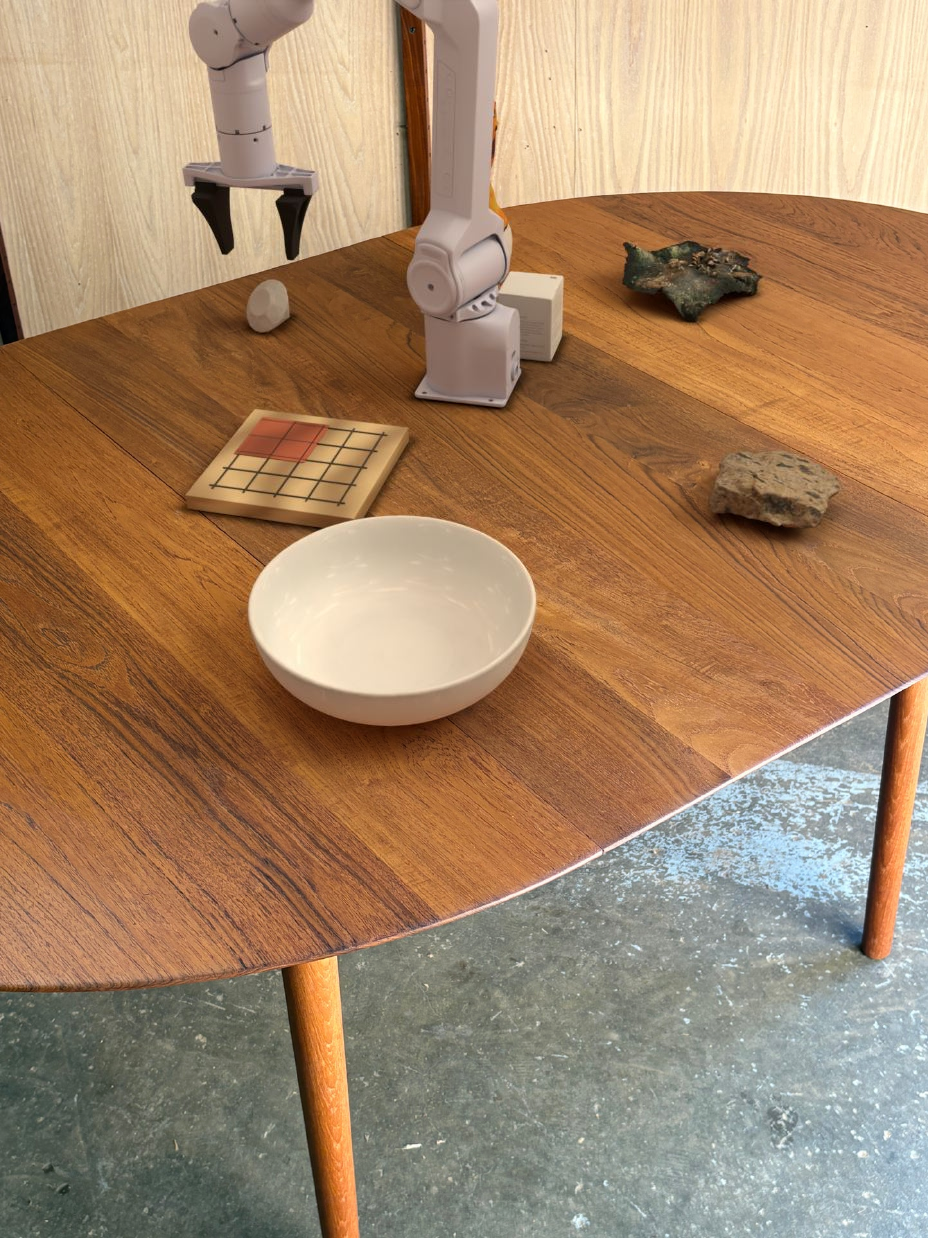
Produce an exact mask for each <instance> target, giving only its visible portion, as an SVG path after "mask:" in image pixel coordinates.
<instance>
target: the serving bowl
mask: <svg viewBox="0 0 928 1238" xmlns="http://www.w3.org/2000/svg"><path fill="white" fill-rule="evenodd" d="M536 591H537V590H536V588H535V585H534V581H533V578H532V576H531V574H530V572H529V570H527V567H526V566H525V565H524V564H523V562H522V561H521V560H520V558H518V557H517V555H516V554H515V553H514V552H513V551H512V550H510V549H509V548H508V547H506V545H504V544H503V543H501V542H500V541H498V540H496V539H495V538H493V537H492V536H490V535H488V534H486V533H484V532H482V531H479V530H477V529H474V528H472V527H470V526H468V525H464V524H461V523H457V522H454V521H451V520H446V519H440V518H436V517H430V516H418V515H382V516H371V517H364V518H363V519H357V520H352V521H348V522H343V523H340V524H336V525H333V526H330V527H327V528H320V529H319V530H316V531H314V532H311V533H310V534H307V535H306V536H304V537H302V538H300V539H298V540H297V541H295V542H293V543H292V544H290V545H289V546H287V547H286V548H284V549H283V550H282V551H280V552H279V553H278V554H277V555H276V556H275V557H273V558H272V559H271V560H270V561H269V562H268V563H267V565H265V567H263V569H262V571H261V572H260V573H259V575H258V576H257V577H256V580H255V581H254V583H253V586H252V588H251V590H250V593H249V597H248V602H247V619H248V625H249V629H250V633H251V637H252V638H253V641H254V644H255V647H256V649H257V651H258V653H259V656H260V658H261V659H262V661H263V662H264V664H265V666H266V668H267V670H268V671H269V672H270V673H271V675H272V676H273V677H274V678H275V680H276V681H277V682H278V683H279V684H280V685H281V686H282V687H283V688H284V689H285V690H286V691H287V692H289V693H290V694H291V695H292V696H293V697H295V698H296V699H298V700H299V701H300V702H302V703H304V704H305V705H307V706H309V707H311V708H313V709H315V710H316V711H319V712H321V713H323V714H325V715H328V716H331V717H334V718H336V719H340V720H344V721H346V722H351V723H356V724H361V725H362V724H363V725H369V726H380V727H382V726H384V727H397V726H409V725H417V724H423V723H426V722H432V721H435V720H439V719H442V718H445V717H448V716H451V715H453V714H457V713H458V712H460V711H463V710H464V709H466V708H468V707H470V706H472V705H474V704H476V703H477V702H479V701H480V700H482V699H484V698H485V697H487V695H489V694H491V692H493V691H494V690H495V689H496V688H497V687H498V686H500V685H501V684H502V683H503V682H504V681H505V679H506V678H507V677H508V676H509V675H510V674H511V672H513V670H514V669H515V667H516V666H517V664H518V662H519V661H520V659H521V657H522V656H523V654H524V652H525V650H526V648H527V645H528V642H529V641H530V637H531V634H532V630H533V626H534V623H535V617H536V614H537V613H536V612H537V593H536Z"/></svg>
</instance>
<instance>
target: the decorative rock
mask: <svg viewBox="0 0 928 1238" xmlns="http://www.w3.org/2000/svg"><path fill="white" fill-rule="evenodd" d="M622 246H623V248H624V251H625V252H626V254H627V256H625V261H626V262H625V263H624V264H623V265H624V266H623V267H624V269H623V277H622V280H621V281H622V285H623V286H625V287H626V288H627V289H628V290H630V291H637V292H639V293H640V294H645V293H646V294H649V295H658V294H660V293H661V294H662V293H663V294H664V295H665V300H666V299H667V300H670V301H671V302H672V303H673V304H674V306H675V308H676V309H677V311H678V312H679V314H680V316H681V318H682V320H687V321H692V322H697V321H698V317H700V316H701V315H702V313H703V311H704V309H706V307H707V306H708V305H710V304H712V305H715V304H716V303H718V301H719V300H720V298H721V297H723V296H724V295H725V294H729V293H732V292H734V293H741V292H747V293H748V294H749V293H750V295H751V296H755V295H756V294H757V292H758V283H759V282H760V280H762V279H763V277H764V276H763V275H761V274H759V273H758V272H756V271H755V270H753V269H751V268H750V267H748V266H749V265H750V263H749V262H750V261H751V258H749V257H746V256H743V255H740V254H739V252H737V251H733V250H724V249H723V248H722V247H717V248H715V249H714V248H713V247H711V248H709V247H707V246H702V245H701V244H700V243H699V242H696V241H694V240H686V241H683V242H680V243H675V244H672V245H670V246H665V247H662V248H659V249H656V250H646V249H644V248H641V247H638V246H637V245H636V244H633V243H630V242H629V241H625V242H623V243H622Z"/></svg>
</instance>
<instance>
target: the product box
mask: <svg viewBox="0 0 928 1238" xmlns="http://www.w3.org/2000/svg"><path fill="white" fill-rule="evenodd" d="M564 280H565V279H564V275H558V274H549V273H548V274H547V273H536V272H535V273H534V272H526V271H525V272H524V271H508V274H507V276H506V277H505V279H504V280H503V283H502V284H501V286H500V288H498V296H497V297H496V302H498V303H499V304H501V305H503V306H506V307H510V308H514V309H517V310H518V312H519V317H520V360H523V359H524V360H531V361H538V362H552V360H553V358H554V356H555V353H556V352H557V349H558V346H559V344H560V342H561V340H562V337H563V317H564V316H563V315H564V313H563V312H564V282H565V281H564Z"/></svg>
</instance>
